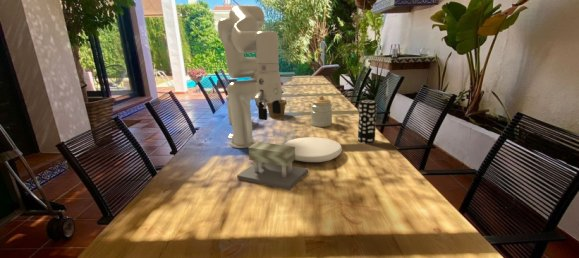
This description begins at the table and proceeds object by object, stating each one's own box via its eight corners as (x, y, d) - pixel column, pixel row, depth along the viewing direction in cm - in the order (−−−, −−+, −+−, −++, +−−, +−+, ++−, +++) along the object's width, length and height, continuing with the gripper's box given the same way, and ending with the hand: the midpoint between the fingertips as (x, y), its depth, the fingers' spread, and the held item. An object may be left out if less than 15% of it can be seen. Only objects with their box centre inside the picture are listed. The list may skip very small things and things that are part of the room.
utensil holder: (232, 119, 202) (230, 93, 197) (254, 119, 200) (252, 93, 195) (225, 125, 188) (222, 97, 183) (248, 125, 186) (246, 97, 181)
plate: (288, 134, 151) (343, 136, 146) (288, 147, 152) (342, 149, 147) (274, 147, 124) (340, 150, 119) (274, 163, 125) (340, 166, 120)
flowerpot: (264, 118, 202) (261, 72, 194) (268, 113, 216) (266, 70, 207) (285, 118, 200) (283, 72, 191) (288, 113, 213) (287, 70, 205)
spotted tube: (371, 144, 147) (374, 103, 141) (355, 141, 151) (356, 102, 145) (377, 139, 153) (379, 100, 148) (361, 137, 158) (362, 99, 152)
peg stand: (237, 178, 114) (236, 162, 112) (260, 163, 128) (259, 149, 126) (289, 190, 104) (289, 172, 103) (308, 172, 118) (307, 156, 116)
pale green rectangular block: (295, 159, 114) (294, 146, 113) (286, 166, 108) (286, 153, 107) (259, 153, 121) (258, 141, 120) (249, 159, 115) (248, 147, 114)
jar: (317, 120, 193) (317, 93, 188) (335, 123, 185) (336, 94, 181) (306, 125, 183) (306, 96, 178) (325, 128, 175) (325, 98, 170)
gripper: (264, 71, 96) (266, 123, 101) (288, 66, 111) (290, 112, 116) (244, 70, 99) (248, 121, 104) (271, 66, 114) (273, 110, 119)
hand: (270, 116), depth 110 cm, fingers open, 9 cm apart
